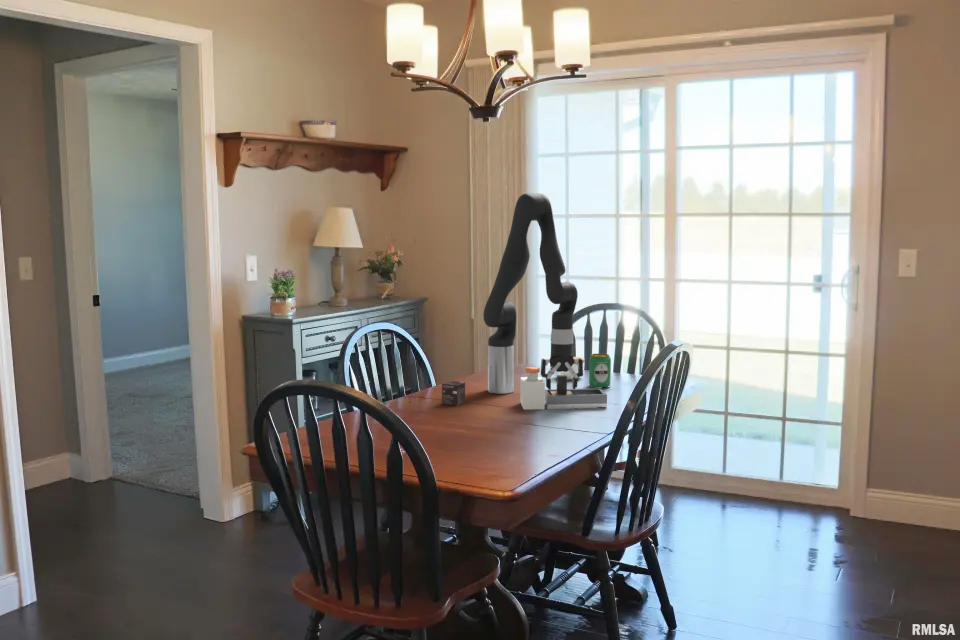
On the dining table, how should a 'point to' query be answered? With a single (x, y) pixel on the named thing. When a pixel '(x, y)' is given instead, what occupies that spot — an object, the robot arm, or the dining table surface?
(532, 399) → the white boxy piece
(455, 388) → the box
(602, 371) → the beverage can
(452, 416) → the dining table surface
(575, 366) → the lidded jar
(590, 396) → the gray rectangular tray
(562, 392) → the carriage
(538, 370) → the button
